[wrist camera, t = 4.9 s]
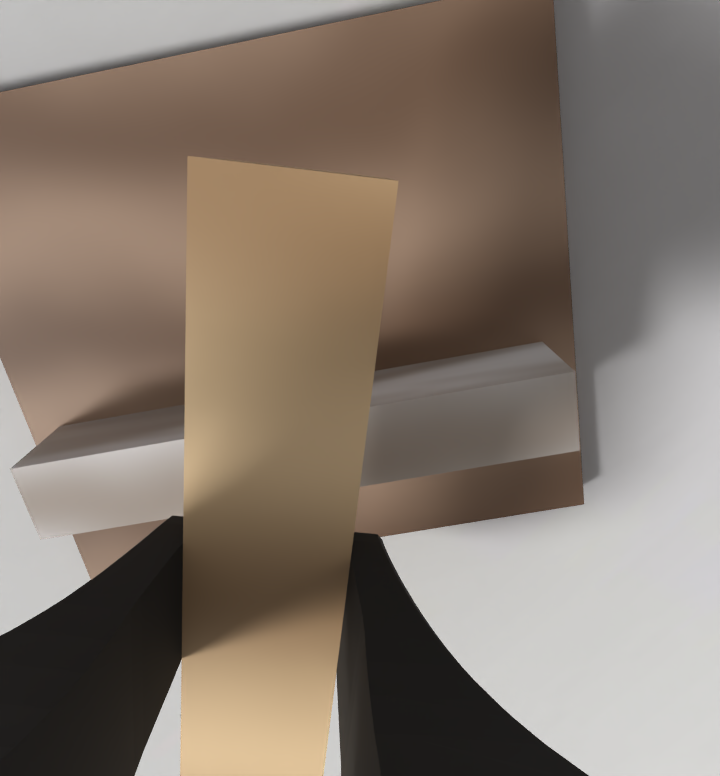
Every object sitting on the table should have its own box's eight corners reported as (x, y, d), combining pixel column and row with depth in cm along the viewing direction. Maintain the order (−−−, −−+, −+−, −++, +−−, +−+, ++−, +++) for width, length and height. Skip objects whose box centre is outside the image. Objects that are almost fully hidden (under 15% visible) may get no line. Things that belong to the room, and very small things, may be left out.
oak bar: (315, 775, 17) (308, 897, 14) (208, 767, 17) (178, 889, 14) (387, 178, 11) (398, 181, 9) (229, 159, 11) (188, 155, 8)
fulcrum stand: (-75, 116, 17) (-194, 100, 14) (540, -12, 16) (595, -66, 13) (103, 566, 23) (53, 644, 19) (574, 489, 22) (619, 556, 18)
